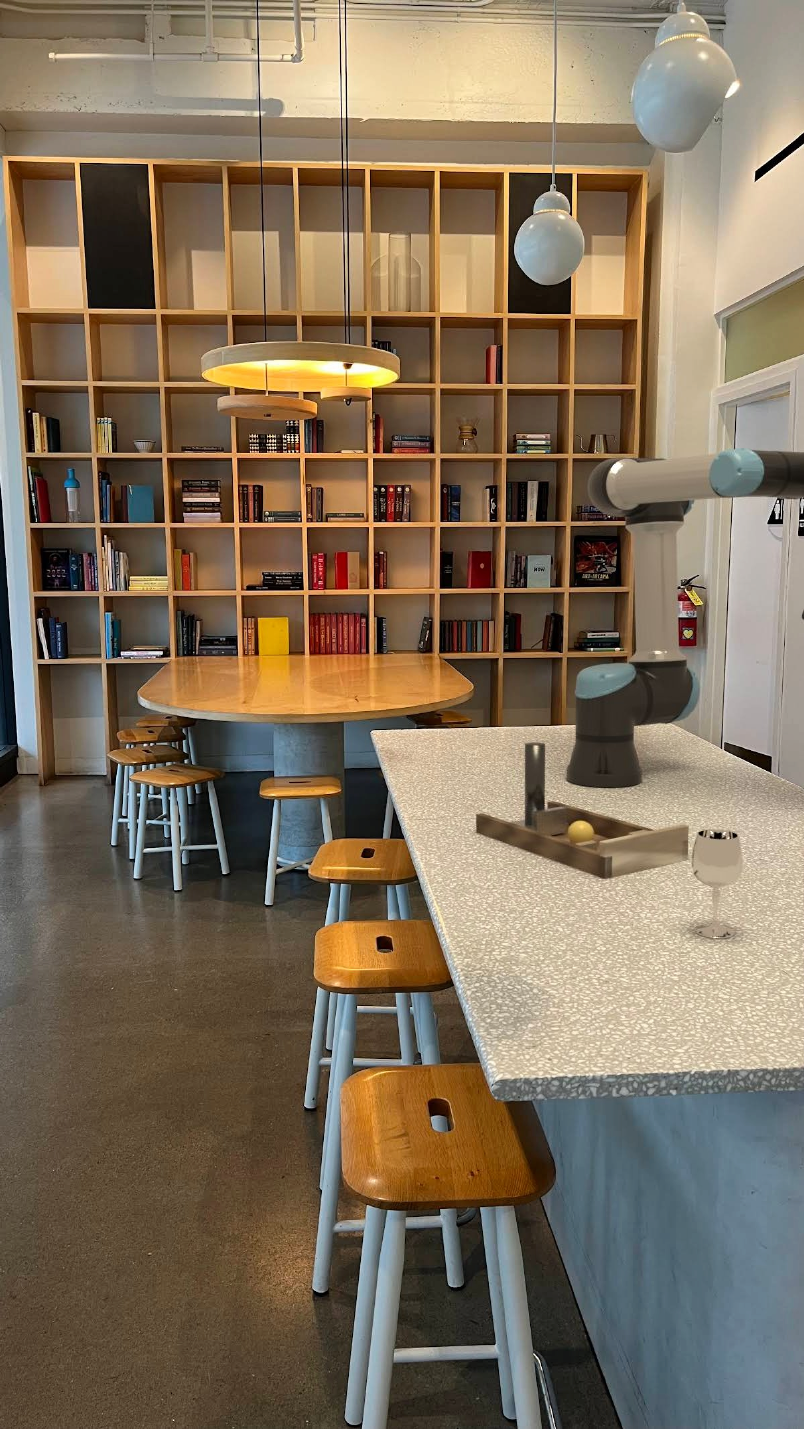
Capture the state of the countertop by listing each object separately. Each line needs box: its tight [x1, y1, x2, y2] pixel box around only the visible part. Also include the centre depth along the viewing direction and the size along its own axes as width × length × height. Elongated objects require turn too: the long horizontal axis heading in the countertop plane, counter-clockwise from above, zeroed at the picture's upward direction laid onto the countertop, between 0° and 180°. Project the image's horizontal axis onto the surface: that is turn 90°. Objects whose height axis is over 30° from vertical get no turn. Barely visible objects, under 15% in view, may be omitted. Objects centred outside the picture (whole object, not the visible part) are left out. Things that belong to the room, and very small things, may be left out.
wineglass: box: [691, 829, 744, 940], centre depth 121 cm, size 6×6×12 cm
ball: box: [568, 821, 594, 844], centre depth 155 cm, size 4×4×4 cm
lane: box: [475, 800, 690, 880], centre depth 156 cm, size 30×16×6 cm, turn 32°
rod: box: [509, 741, 568, 835], centre depth 163 cm, size 7×9×14 cm
